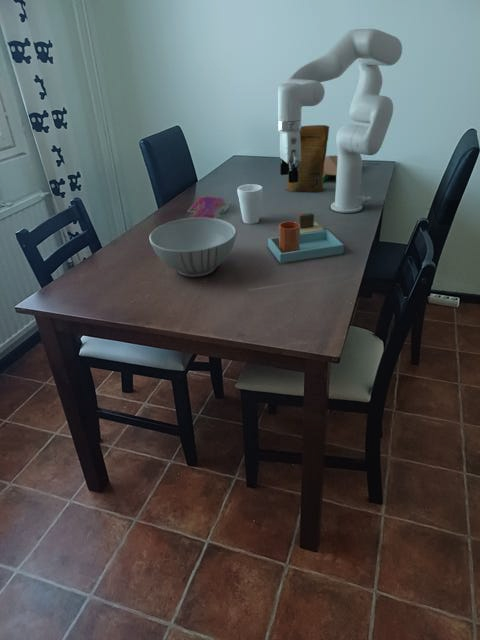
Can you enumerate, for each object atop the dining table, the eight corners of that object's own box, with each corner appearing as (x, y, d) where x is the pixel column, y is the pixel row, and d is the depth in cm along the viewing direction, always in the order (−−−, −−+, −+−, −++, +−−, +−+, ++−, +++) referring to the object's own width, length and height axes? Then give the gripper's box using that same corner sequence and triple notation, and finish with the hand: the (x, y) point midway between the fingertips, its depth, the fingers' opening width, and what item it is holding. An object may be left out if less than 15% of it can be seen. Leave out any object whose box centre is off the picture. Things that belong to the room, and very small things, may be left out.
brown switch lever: (311, 225, 170) (312, 212, 168) (313, 226, 169) (314, 214, 166) (298, 227, 169) (298, 214, 167) (300, 228, 168) (300, 216, 165)
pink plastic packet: (215, 230, 179) (214, 217, 176) (177, 228, 182) (176, 215, 179) (234, 203, 203) (234, 191, 200) (201, 202, 206) (199, 190, 203)
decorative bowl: (206, 296, 137) (203, 258, 130) (137, 276, 149) (130, 241, 143) (253, 259, 156) (252, 224, 149) (188, 245, 168) (184, 212, 162)
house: (360, 166, 241) (362, 150, 236) (340, 185, 217) (341, 167, 212) (318, 163, 250) (318, 147, 246) (293, 180, 226) (293, 163, 222)
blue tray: (327, 238, 167) (327, 229, 165) (343, 254, 156) (343, 244, 154) (268, 247, 163) (268, 238, 161) (280, 264, 152) (280, 254, 150)
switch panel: (314, 228, 175) (314, 220, 174) (323, 237, 168) (324, 229, 166) (283, 232, 173) (283, 224, 172) (291, 242, 166) (291, 234, 164)
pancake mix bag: (325, 194, 208) (328, 126, 193) (282, 192, 212) (282, 126, 197) (326, 189, 213) (330, 123, 198) (284, 188, 218) (285, 123, 203)
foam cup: (260, 225, 180) (260, 192, 173) (237, 225, 182) (235, 191, 175) (264, 216, 188) (264, 184, 181) (241, 216, 190) (240, 183, 183)
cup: (295, 246, 162) (295, 220, 156) (302, 254, 156) (302, 227, 151) (276, 249, 160) (276, 222, 155) (282, 257, 155) (282, 230, 150)
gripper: (309, 129, 147) (307, 184, 157) (292, 120, 162) (291, 170, 171) (286, 131, 146) (285, 186, 156) (271, 121, 161) (271, 172, 170)
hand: (288, 178), depth 163 cm, fingers open, 9 cm apart
